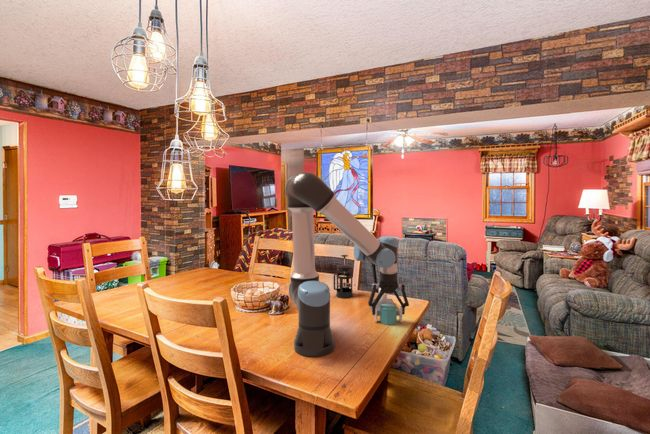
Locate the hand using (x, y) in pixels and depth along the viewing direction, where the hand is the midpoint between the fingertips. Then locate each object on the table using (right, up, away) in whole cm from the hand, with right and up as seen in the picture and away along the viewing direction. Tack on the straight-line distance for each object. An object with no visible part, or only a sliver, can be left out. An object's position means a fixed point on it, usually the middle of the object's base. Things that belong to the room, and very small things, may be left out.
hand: (388, 321), depth 145 cm
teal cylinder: (0, 0, 0) cm, 0 cm away
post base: (+1, +1, +17) cm, 17 cm away
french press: (-18, +2, +38) cm, 42 cm away
